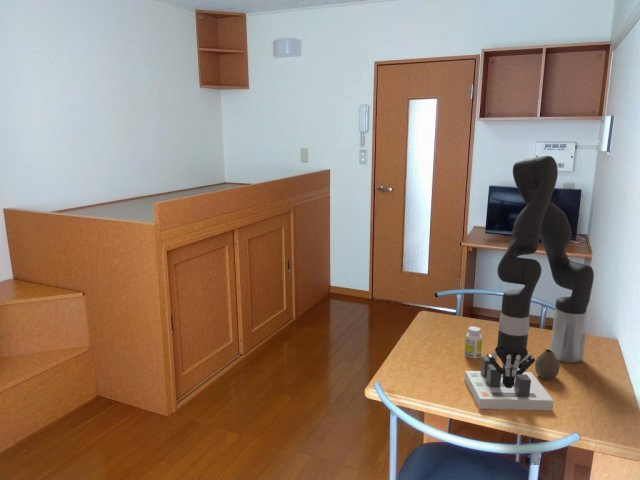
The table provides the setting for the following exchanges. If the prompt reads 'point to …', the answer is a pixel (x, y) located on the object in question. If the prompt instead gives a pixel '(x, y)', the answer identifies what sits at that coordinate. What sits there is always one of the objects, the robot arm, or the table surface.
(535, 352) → the table surface
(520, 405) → the breaker panel
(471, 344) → the supplement bottle
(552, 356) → the vase
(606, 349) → the table surface
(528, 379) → the block
